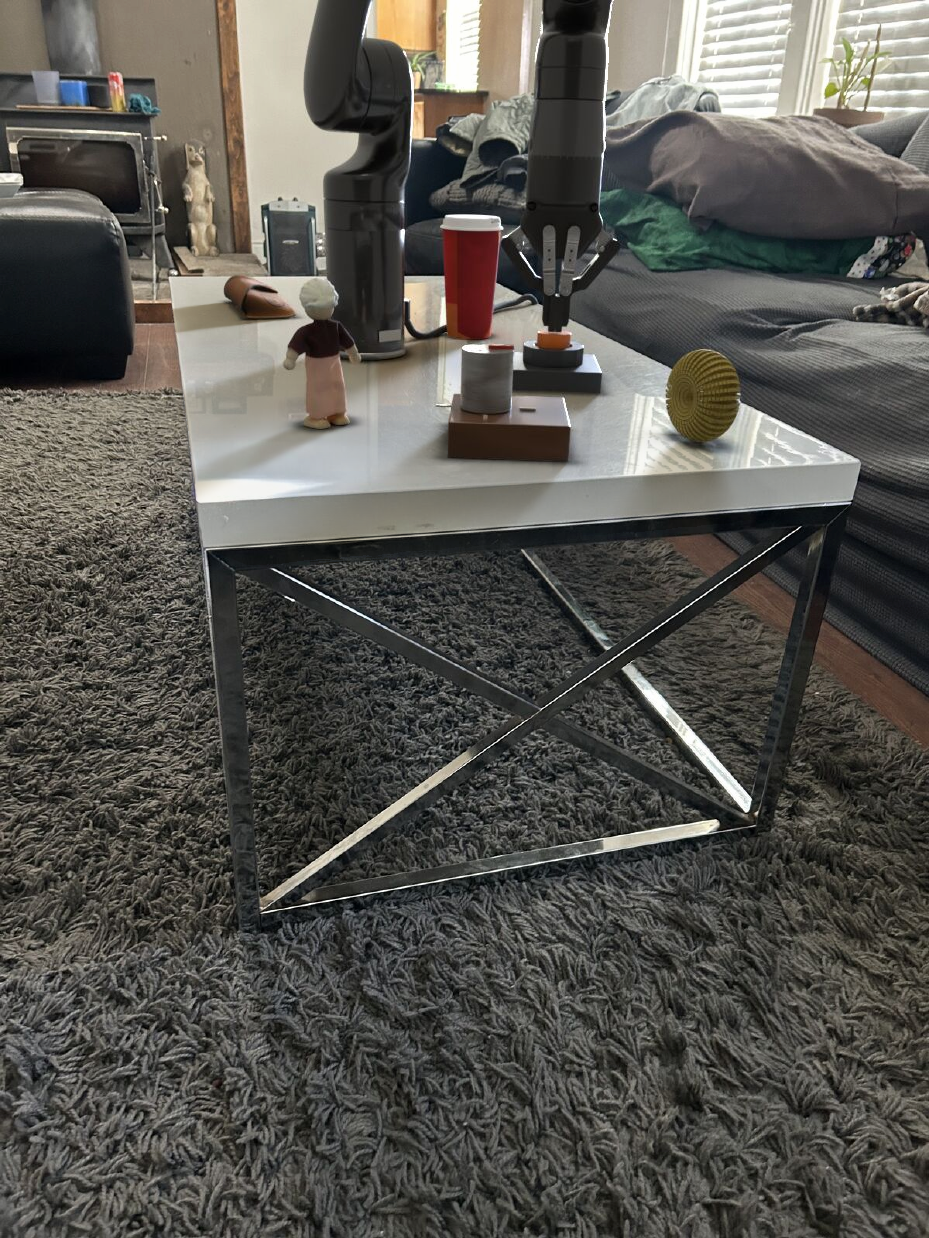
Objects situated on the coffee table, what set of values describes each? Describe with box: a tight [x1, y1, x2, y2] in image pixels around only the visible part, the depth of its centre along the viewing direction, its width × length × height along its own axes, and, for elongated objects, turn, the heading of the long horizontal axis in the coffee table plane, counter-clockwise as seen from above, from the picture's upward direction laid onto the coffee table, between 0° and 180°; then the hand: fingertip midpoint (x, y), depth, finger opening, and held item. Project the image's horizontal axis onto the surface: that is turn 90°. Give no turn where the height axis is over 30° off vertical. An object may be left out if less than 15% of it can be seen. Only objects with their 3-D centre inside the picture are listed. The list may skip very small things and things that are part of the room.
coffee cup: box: [439, 214, 504, 340], centre depth 127 cm, size 8×8×15 cm
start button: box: [536, 328, 572, 349], centre depth 104 cm, size 4×4×2 cm
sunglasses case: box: [223, 274, 297, 320], centre depth 144 cm, size 18×7×7 cm, turn 21°
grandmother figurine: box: [282, 277, 362, 430], centre depth 85 cm, size 8×4×13 cm, turn 141°
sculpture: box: [664, 348, 742, 443], centre depth 84 cm, size 8×4×8 cm, turn 24°
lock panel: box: [435, 393, 572, 462], centre depth 83 cm, size 10×11×3 cm
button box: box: [512, 339, 603, 394], centre depth 105 cm, size 10×10×4 cm
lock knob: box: [460, 342, 515, 414], centre depth 81 cm, size 4×4×5 cm
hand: (554, 330), depth 103 cm, fingers closed
